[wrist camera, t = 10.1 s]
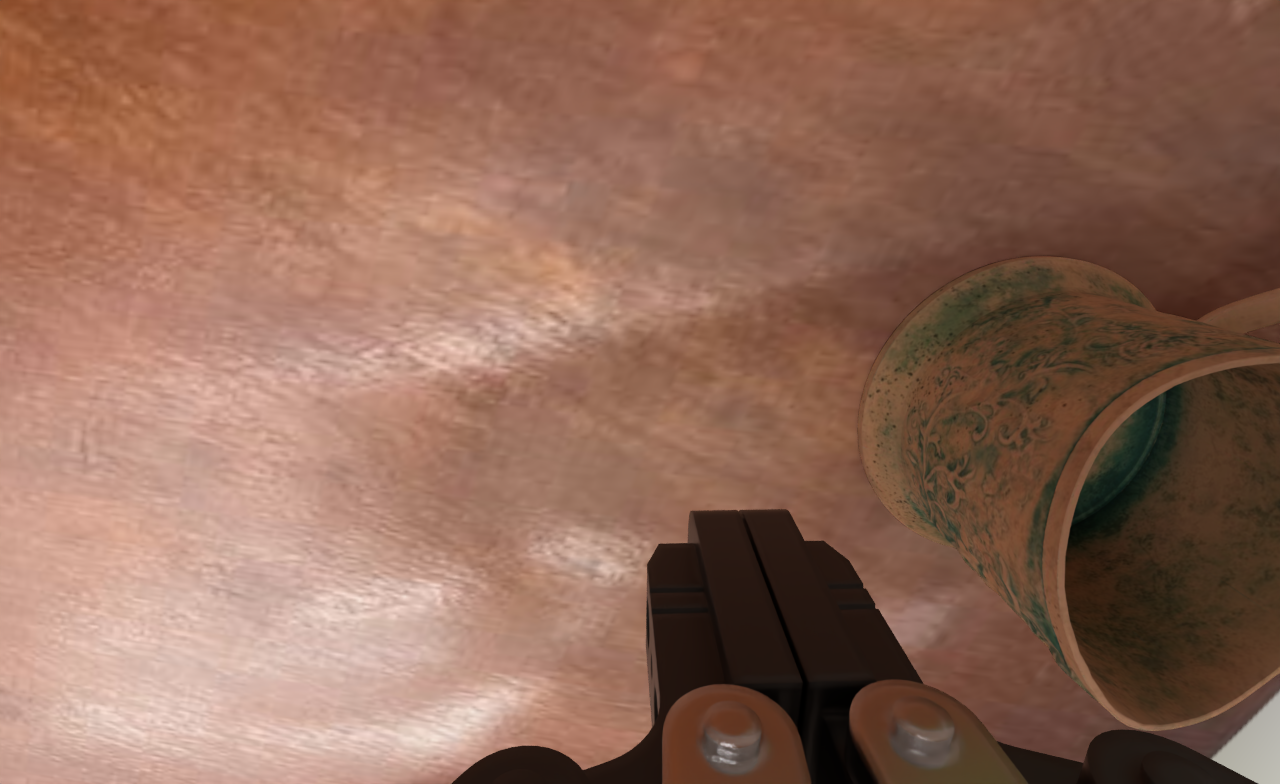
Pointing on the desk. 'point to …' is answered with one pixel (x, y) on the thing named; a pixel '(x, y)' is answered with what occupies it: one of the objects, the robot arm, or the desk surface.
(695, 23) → the desk surface
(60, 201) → the desk surface
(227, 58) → the desk surface
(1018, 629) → the desk surface
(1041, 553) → the mug
